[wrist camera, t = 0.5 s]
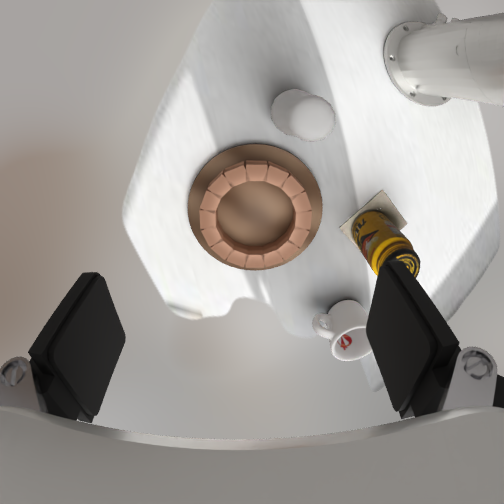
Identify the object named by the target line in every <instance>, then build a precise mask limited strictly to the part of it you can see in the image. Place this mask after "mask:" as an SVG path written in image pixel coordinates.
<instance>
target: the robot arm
mask: <svg viewBox="0 0 504 504" xmlns="http://www.w3.org/2000/svg"><path fill="white" fill-rule="evenodd" d="M446 21H447V17H446V16H445V15H443V14H441V13H439V14H438V16H437V19H436V23H432V24H429V25H427V24H425V23H421V22H406V23H403V24H401V25H398V26H397V27H395V28H394V29H393V30H392V31H391V32H390V34H389V35H388V37H387V39H386V42H385V47H384V59H385V65H386V68H387V71H388V74H389V76H390V78H391V80H392V82H393V83H394V84H395V86H396V87H397V89H398V90H399V91H400V92H401V93H402V94H403V95H404V96H406V97H407V98H408V99H409V100H411V101H413V102H415V103H417V104H421V105H425V106H438V105H442V104H444V103H446V102H448V101H449V100H450V99H451V98H457V99H464V100H470V101H477V102H483V103H488V104H493V105H498V106H503V107H504V13H499V14H494V15H488V16H482V17H475V18H470V19H464V20H459V19H456V18H452V20H451V22H450V23H446ZM390 58H391V60H390ZM410 92H411V95H410ZM366 335H367V338H368V340H369V343H370V346H371V348H372V351H373V353H374V356H375V359H376V361H377V364H378V366H379V369H380V372H381V375H382V377H383V380H384V383H385V386H386V388H387V391H388V394H389V397H390V400H391V402H392V405H393V408H394V410H395V411H396V412H397V411H399V413H400V416H401V419H404V418H408V417H412V416H415V418H411V419H407V420H403V421H398V422H394V423H389V424H384V425H379V426H373V427H368V428H363V429H357V430H351V431H345V432H338V433H330V434H322V435H313V436H304V437H291V438H275V439H242V440H241V439H238V440H237V439H236V440H235V439H234V440H233V439H232V440H231V439H229V440H228V439H199V438H184V437H172V436H163V435H162V436H161V435H154V434H145V433H138V432H131V431H125V430H119V429H113V428H108V427H103V426H97V425H93V424H88V423H92V421H93V418H94V416H96V415H97V414H98V412H99V410H100V407H101V404H102V401H103V398H104V396H105V393H106V390H107V387H108V385H109V382H110V379H111V377H112V374H113V371H114V369H115V366H116V364H117V361H118V359H119V356H120V353H121V351H122V348H123V346H124V343H125V332H124V330H123V327H122V325H121V322H120V320H119V317H118V315H117V312H116V309H115V307H114V304H113V301H112V298H111V296H110V293H109V290H108V287H107V284H106V281H105V279H104V277H102V276H101V275H100V274H99V273H97V272H89V273H82V274H81V276H80V277H79V278H78V280H77V281H76V282H75V284H74V285H73V287H72V288H71V289H70V290H69V292H68V293H67V295H66V296H65V297H64V299H63V300H62V301H61V303H60V305H59V306H58V307H57V309H56V310H55V311H54V313H53V314H52V316H51V317H50V319H49V320H48V322H47V323H46V325H45V326H44V328H43V329H42V331H41V332H40V334H39V335H38V337H37V338H36V340H35V342H34V343H33V345H32V347H31V348H30V350H29V351H28V353H29V355H30V356H31V360H30V362H29V361H28V360H27V359H26V358H24V357H14V358H11V359H10V360H8V361H7V362H6V363H4V364H3V366H2V367H1V368H0V504H504V377H502V376H500V375H497V365H496V362H495V360H494V359H493V357H492V356H491V355H490V354H489V353H488V352H487V351H485V350H483V349H481V348H478V347H467V348H464V349H463V350H461V349H460V347H459V346H458V345H459V341H458V340H457V338H456V336H455V335H454V333H453V332H452V330H451V329H450V327H449V326H448V325H447V323H446V321H445V320H444V318H443V317H442V315H441V314H440V312H439V311H438V309H437V308H436V306H435V305H434V303H433V302H432V300H431V299H430V298H429V296H428V295H427V293H426V292H425V291H424V289H423V288H422V286H421V285H420V284H419V282H418V281H417V280H416V278H415V277H414V276H413V274H412V273H411V272H410V270H409V269H408V268H407V266H406V265H405V264H404V262H403V261H386V262H385V263H384V266H381V267H380V268H379V272H378V277H377V281H376V286H375V291H374V295H373V299H372V304H371V308H370V312H369V316H368V320H367V324H366ZM77 419H78V420H80V421H84V422H88V423H84V422H79V421H76V420H77Z"/></svg>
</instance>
